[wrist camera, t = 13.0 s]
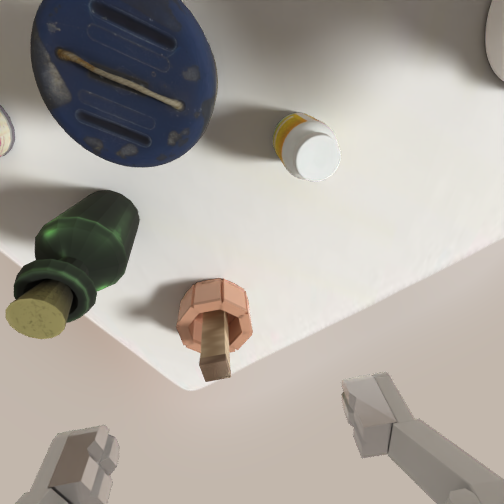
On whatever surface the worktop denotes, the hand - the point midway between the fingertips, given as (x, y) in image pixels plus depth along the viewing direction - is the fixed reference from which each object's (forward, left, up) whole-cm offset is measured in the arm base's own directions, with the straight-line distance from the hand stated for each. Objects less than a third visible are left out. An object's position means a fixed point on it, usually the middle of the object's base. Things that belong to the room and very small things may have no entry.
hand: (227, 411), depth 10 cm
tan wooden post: (+5, +20, -28) cm, 35 cm away
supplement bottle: (-9, -2, -29) cm, 31 cm away
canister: (+3, -10, -29) cm, 31 cm away
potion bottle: (+14, +3, -29) cm, 33 cm away
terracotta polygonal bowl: (+5, +20, -29) cm, 36 cm away
